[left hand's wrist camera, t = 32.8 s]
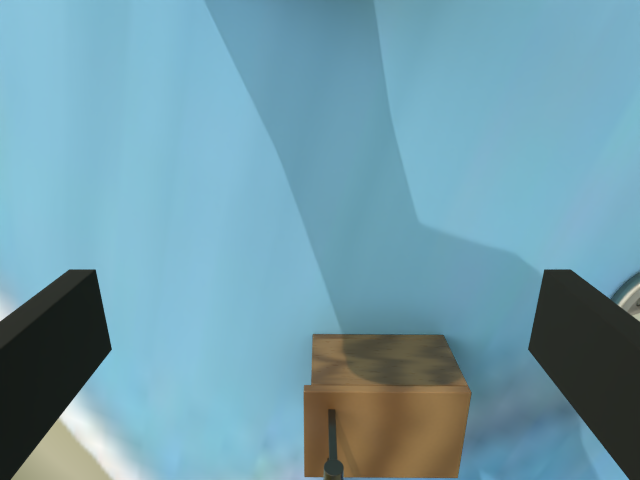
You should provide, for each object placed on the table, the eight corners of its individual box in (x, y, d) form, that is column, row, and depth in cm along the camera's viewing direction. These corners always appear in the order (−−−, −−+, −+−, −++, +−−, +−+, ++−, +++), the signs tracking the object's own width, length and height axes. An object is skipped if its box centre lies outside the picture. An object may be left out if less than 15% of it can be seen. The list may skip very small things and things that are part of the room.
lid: (304, 469, 45) (301, 552, 37) (304, 384, 41) (300, 457, 33) (455, 470, 45) (484, 553, 37) (468, 385, 41) (503, 458, 33)
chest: (312, 409, 53) (311, 469, 45) (312, 334, 50) (311, 384, 41) (434, 409, 54) (455, 469, 45) (443, 334, 50) (468, 385, 41)
